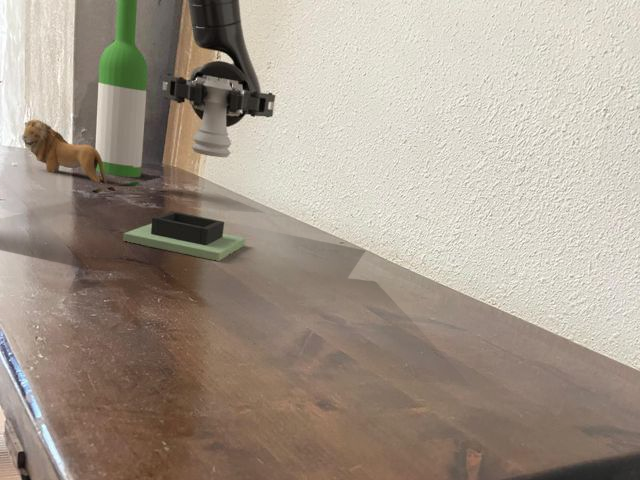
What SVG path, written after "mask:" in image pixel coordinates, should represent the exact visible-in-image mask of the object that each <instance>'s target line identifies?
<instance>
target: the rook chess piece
mask: <svg viewBox="0 0 640 480" xmlns="http://www.w3.org/2000/svg"><path fill="white" fill-rule="evenodd" d="M203 86H204V88H205V90H206V98H205V99H204V102H205V109H204V114H203V118H202V120H201V122H200V125H199V127H198V128H197V132H196V133H195V134H193V138H192V140H193V141H194V144H193V145H191V148H192V150H193V152H195V153H196V154H199V155H204V156H209V157H215V158H228V157H229V156H230V155H231V151H230V150H229V148H230V147H231V145H232V140H231V139H230V138H229V132H228V130H227V129H228V127H226V110H227V106H228V105H229V103H228V102H227V98H228V95H229V94H230V93H231V92H232V88H231V86H230V80H227V79H223V78H222V79H221V78H219V81H218V78H217V77H211V76H207V81H206V82H205V83H204V84H203Z"/></svg>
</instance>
